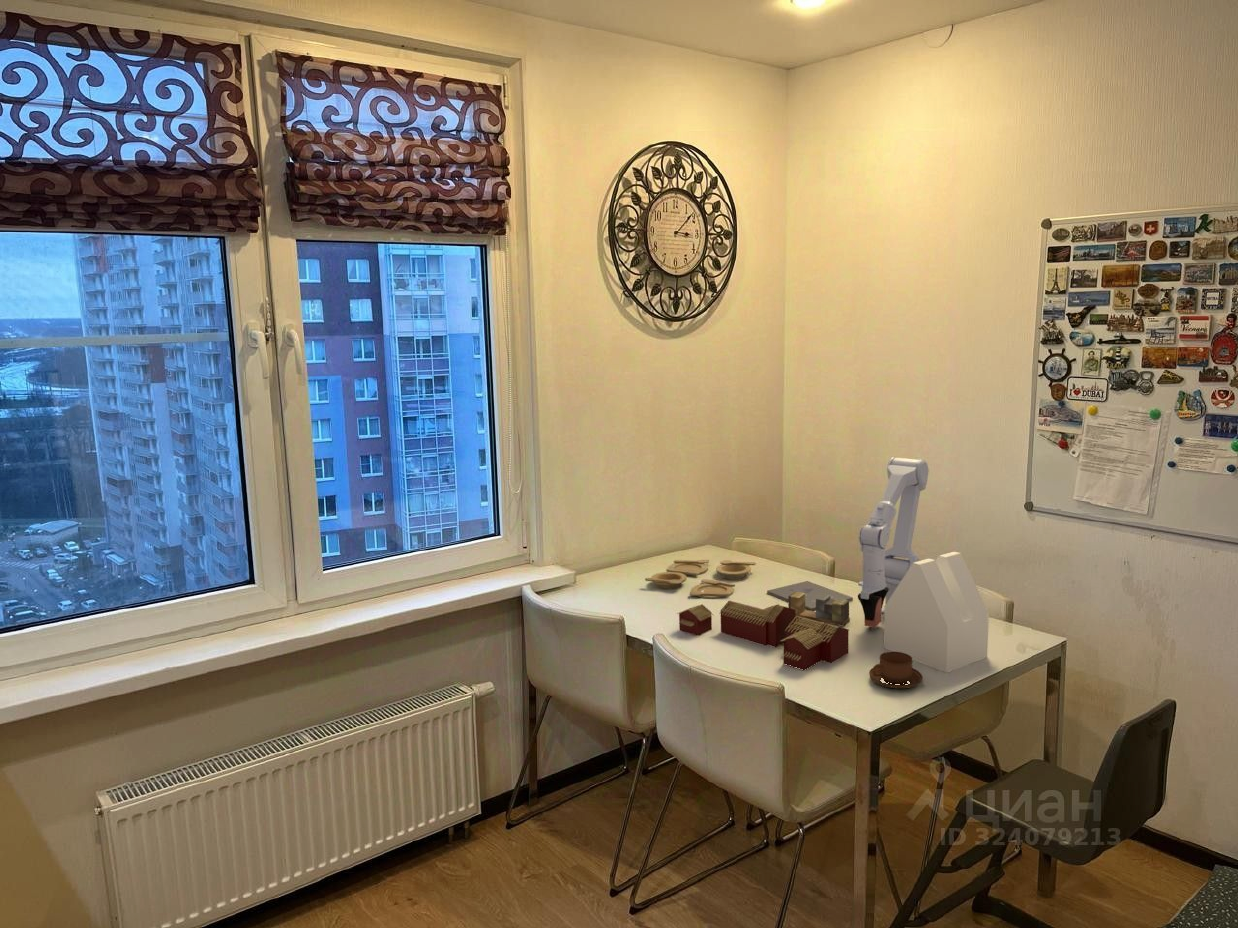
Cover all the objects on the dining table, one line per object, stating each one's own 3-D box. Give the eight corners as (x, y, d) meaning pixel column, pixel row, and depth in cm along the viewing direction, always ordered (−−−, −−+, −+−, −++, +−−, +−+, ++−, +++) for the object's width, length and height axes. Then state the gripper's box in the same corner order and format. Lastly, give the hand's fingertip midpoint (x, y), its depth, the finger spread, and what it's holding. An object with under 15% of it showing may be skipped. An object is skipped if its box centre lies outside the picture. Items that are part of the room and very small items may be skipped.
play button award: (811, 608, 261) (767, 590, 278) (811, 613, 261) (767, 595, 278) (852, 597, 269) (807, 580, 286) (852, 602, 269) (807, 585, 286)
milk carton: (884, 648, 233) (885, 554, 228) (924, 634, 241) (926, 544, 236) (946, 672, 217) (949, 572, 212) (987, 657, 225) (990, 560, 220)
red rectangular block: (881, 621, 248) (881, 597, 246) (875, 627, 244) (875, 602, 242) (870, 619, 249) (870, 595, 248) (864, 625, 245) (864, 600, 244)
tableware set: (678, 562, 315) (678, 551, 315) (759, 570, 303) (759, 559, 302) (636, 593, 284) (636, 580, 284) (725, 604, 272) (725, 591, 271)
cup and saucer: (900, 697, 205) (901, 672, 204) (858, 681, 214) (858, 656, 213) (933, 683, 212) (933, 658, 211) (890, 667, 221) (891, 643, 220)
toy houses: (853, 650, 233) (854, 613, 231) (809, 676, 218) (810, 636, 216) (715, 613, 264) (715, 579, 262) (669, 633, 249) (668, 598, 247)
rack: (849, 620, 253) (849, 598, 251) (843, 626, 249) (844, 603, 248) (794, 611, 262) (794, 589, 261) (787, 616, 258) (787, 594, 257)
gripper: (868, 559, 252) (867, 606, 254) (849, 573, 240) (849, 622, 243) (893, 562, 248) (892, 610, 250) (875, 577, 236) (875, 626, 239)
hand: (873, 616), depth 246 cm, fingers closed on red rectangular block, 5 cm apart
